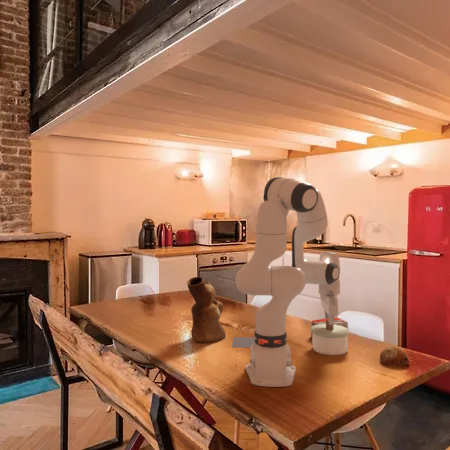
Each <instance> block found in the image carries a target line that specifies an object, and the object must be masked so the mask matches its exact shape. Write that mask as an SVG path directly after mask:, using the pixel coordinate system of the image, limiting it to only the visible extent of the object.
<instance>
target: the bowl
mask: <svg viewBox="0 0 450 450" xmlns="http://www.w3.org/2000/svg"><path fill="white" fill-rule="evenodd" d="M311 340H312V350H313V351H314V352H316V353H318V354H320V355H325V356H326V355H327V356H342V355H345V354H346V353H348V348H349V335H348V336H346V337H341V338H327V337H321V336H317V335H314V334H313V337H312V339H311Z"/></svg>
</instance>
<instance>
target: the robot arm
mask: <svg viewBox="0 0 450 450" xmlns="http://www.w3.org/2000/svg"><path fill="white" fill-rule="evenodd" d="M262 198H263V199H262V200H263V202H262V203H260V204H259V207H258V211H257V217H256V222H255V223H256V225H255V227H256V228H255V243H254V244H255V246H254V251H253V254H252V255H251V256H252V257H251V258H250V260H249V261H248V262H247V263H246V264H245V265H244V266H242V267H241V268H240V269H238V271H237V273H236V276H235V285H236V287H237V288H236V289H237V290H238V291H239V292H240V293H241V294H245V295H250V296H271V297H272V298H271V300H270V301H268V302H267V303H265V304H263V305H260V306H259V307H258V308H257V309H256V312H255V330H254V335H253V337H254V341H255V343H254V344H253V345H252V346H251V348H250V359H249V364H245V366H244V369H245V372H246V374H247V377H248V378H249V381H250V383H251V385H253V386H259V387H270V388H271V387H272V388H276V387H278V388H280V387H281V388H282V387H289V386H292V385H293V382H294V378H295V375H296V372H297V367H296V366H295V365H293V364H294V363H293V360H292V359H291V358H292V355H293V354H292V353H291V346H289V345H288V344H287V341H288V340H287V339H288V334H287V332H286V319H287V312H288V309H289V306H290V304H291V302H292V301H293V300H294V299H295V298H296V297H297V296H298V295H300V294H301V293H302V292H303V290H304V289H305V286H306V284H308V285H309V284H310V285H318V294H320V295H319V296H320V303H321V307H322V308H323V312H324V319H329V324H330V325H334V318H336V317H338V316H339V303H338V301H339V300H338V296H339V295H340V294H341V280H340V274H341V265H340V264H341V262H340V257H339V256H340V255H339V253H337V252H334V251H321V252H320V254H319V258H318V260H309V259H307V258H305V256H304V255H305V253H304V250H305V248H304V245H305V243H307V242H309V241H312V240H315V239H317V238H319V237H321V236H322V235H323V234H324V233H326V230H327V228H328V222H329V221H328V214H327V209H326V206H325V202H324V198H323V196H322V194H321V192H320V190H318V189H317V188H315V186H313V184H311V183H309V182H305V181H301V180H298V179H294V178H289V177H280V176H277V177H273V178H270V179H269V180H267V181H266V184H265V186H264V190H263V197H262ZM290 211H293V212H296V218H297V226H295V227H294V228H293V229H292V232H291V233H292V234H291V261H292V262H291V266H290V265H271V264H272V262H274V261H276V260H277V259H279V258H281V257H282V256H283V255H284V254H285V253H286V251H287V240H288V237H287V235H288V220H287V219H288V218H287V217H288V214H289V212H290Z"/></svg>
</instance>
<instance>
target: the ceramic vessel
mask: <svg viewBox="0 0 450 450" xmlns="http://www.w3.org/2000/svg"><path fill="white" fill-rule="evenodd" d="M204 279H205V278H203V277H202V276H195V277H192V278H190V279H188V280H187V281H186V284H187V288H188V290H189V293H190V294H191V296H192V298H193V300H194V301H195V302H194V304H193V305H192V307H191V310H190V311H191V315H192V316H191V317H192V327H191V330H190V331H191V332H190V333H191V339H193V341H195V342H196V343H199V344H211V343H216V342H219V341H221V340H223V339H225V338H226V330H225V328H224V327H223V325H222V324H221V323H220V319H221V316H222V313H223V312H224V304H223V302H221V301H219V300H217V299H216V296H217V295H216V289H215V288H214V286H213V285H211V282H210V280H207V281H206V282H205V280H204Z"/></svg>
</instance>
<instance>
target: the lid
mask: <svg viewBox="0 0 450 450" xmlns="http://www.w3.org/2000/svg"><path fill="white" fill-rule="evenodd" d="M311 333H312V334H314V335H317V336H321V337H327V338H341V337H346V336H348V337H349V335H350V329H349V328H348V329H347V328H346V327H343V326H339V325H330V324H329V320H326V324H319V325H314V326H312V327H311V326H310V334H311Z"/></svg>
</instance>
